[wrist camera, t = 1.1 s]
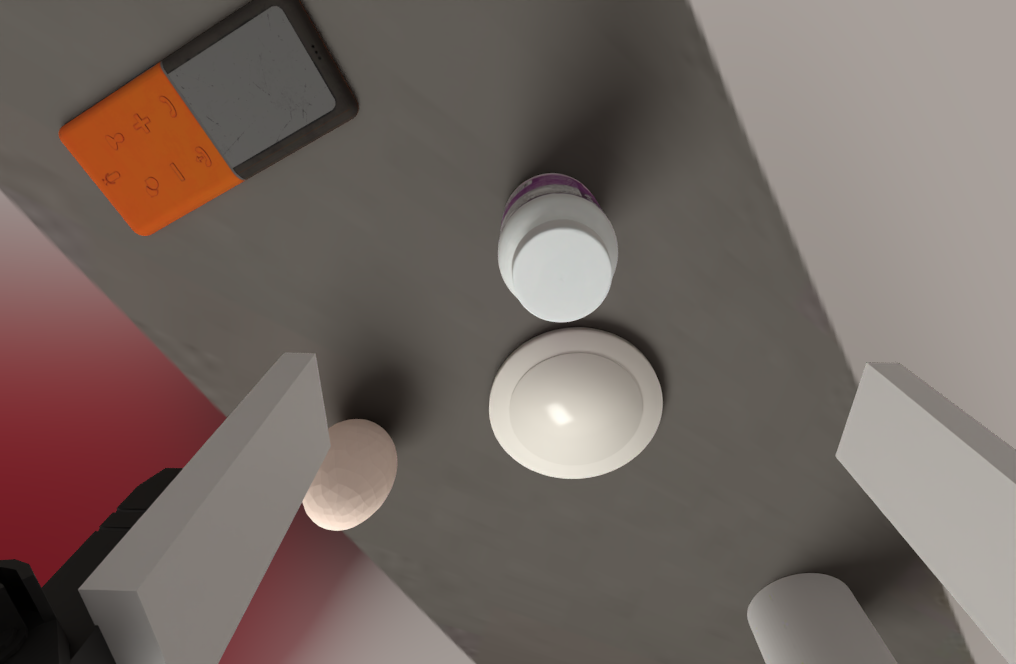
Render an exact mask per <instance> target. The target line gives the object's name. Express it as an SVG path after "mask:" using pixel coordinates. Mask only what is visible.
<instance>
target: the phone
mask: <svg viewBox="0 0 1016 664" xmlns="http://www.w3.org/2000/svg"><path fill="white" fill-rule="evenodd" d="M357 113H358V103H357V101H356V99H355V98H354V96H353V94H352V92H351V90H350V89H349V87H348V85H347V83H346V82H345V80H344V78H343V76H342V75H341V73H340V71H339V69H338V68H337V66H336V64H335V62H334V61H333V59H332V57H331V55H330V54H329V52H328V50H327V48H326V46H325V45H324V43H323V41H322V39H321V38H320V36H319V34H318V32H317V31H316V29H315V27H314V25H313V24H312V22H311V20H310V18H309V17H308V15H307V13H306V11H305V10H304V8H303V6H302V4H301V2H300V1H299V0H253V1H252V2H250V3H248V4H247V5H245V6H244V7H242V8H241V9H239V10H238V11H236V12H235V13H233V14H232V15H230V16H229V17H227V18H226V19H224V20H223V21H221V22H220V23H218V24H217V25H215V26H214V27H212V28H211V29H209V30H208V31H206V32H205V33H203V34H202V35H200V36H199V37H197V38H195V39H194V40H192V41H191V42H189V43H188V44H186V45H185V46H183V47H182V48H180V49H179V50H177V51H176V52H174V53H173V54H171V55H170V56H168V57H167V58H165V59H164V60H162V61H161V62H159V63H158V64H155V65H153V66H152V67H150V68H149V69H147V70H146V71H144V72H143V73H141V74H140V75H138V76H137V77H135V78H134V79H132V80H131V81H129V82H128V83H126V85H124V86H123V87H121V88H120V89H118V90H117V91H115V92H114V93H112V94H111V95H109V96H108V97H106V98H105V99H103V100H102V101H100V102H99V103H97V104H96V105H94V106H93V107H91V108H90V109H88V110H86V111H85V112H83V113H82V114H80V115H79V116H77V117H76V118H74V119H73V120H71V121H70V122H68V123H67V124H65V125H64V126H62V127H61V128H60V130H59V138H60V140H61V141H62V143H63V144H64V145H65V146H66V148H67V149H68V150H69V151H70V153H71V154H72V155H73V156H74V158H75V159H76V160H77V161H78V162H79V164H80V165H81V166H82V167H83V169H84V170H85V171H86V172H87V174H88V175H89V176H90V177H91V179H92V180H93V181H94V182H95V184H96V185H97V186H98V187H99V189H100V190H101V191H102V192H103V194H104V195H105V196H106V197H107V199H108V200H109V201H110V202H111V204H112V205H113V206H114V207H115V208H116V210H117V211H118V212H119V213H120V215H121V216H122V217H123V218H124V220H125V221H126V222H127V223H128V225H129V226H130V227H131V228H132V230H133V231H134V232H135V233H137V234H139V235H142V236H147V235H151V234H153V233H155V232H156V231H158V230H160V229H162V228H163V227H165V226H167V225H168V224H170V223H172V222H174V221H175V220H177V219H179V218H181V217H182V216H184V215H186V214H188V213H189V212H191V211H193V210H195V209H196V208H198V207H200V206H202V205H203V204H205V203H207V202H208V201H210V200H212V199H214V198H215V197H217V196H219V195H221V194H222V193H224V192H226V191H228V190H229V189H231V188H233V187H235V186H236V185H238V184H240V183H242V182H243V181H245V180H247V179H248V178H250V177H252V176H254V175H255V174H257V173H259V172H261V171H262V170H264V169H266V168H268V167H269V166H271V165H273V164H275V163H276V162H278V161H280V160H282V159H283V158H285V157H287V156H288V155H290V154H292V153H294V152H295V151H297V150H299V149H301V148H302V147H304V146H306V145H308V144H309V143H311V142H313V141H315V140H316V139H318V138H320V137H322V136H323V135H325V134H327V133H329V132H330V131H332V130H334V129H335V128H337V127H339V126H341V125H342V124H344V123H346V122H348V121H349V120H351V119H353V118H354V117H355V116H356V115H357Z"/></svg>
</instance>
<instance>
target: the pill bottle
mask: <svg viewBox="0 0 1016 664" xmlns="http://www.w3.org/2000/svg"><path fill="white" fill-rule="evenodd" d="M617 260H618V243H617V238H616V234H615V232H614V228H613V226H612V224H611V222H610V220H609V219H608V217H607V216H606V215H605V213H604V212H603V210H602V209H601V207H600V206H599V204H598V202H597V201H596V199H595V197H594V196H593V195H592V194H591V192H590V191H589V190H588V189H587V188H586V187H585V186H584V185H583V184H582V183H581V182H579V181H578V180H576V179H574V178H572V177H570V176H567V175H563V174H558V173H546V174H541V175H537V176H534V177H532V178H530V179H528V180H526V181H525V182H523V183H522V184H521V185H519V186H518V187H517V188H516V190H515V191H514V192H513V193H512V195H511V196H510V198H509V200H508V202H507V204H506V206H505V209H504V213H503V217H502V224H501V231H500V238H499V243H498V262H499V268H500V271H501V275H502V277H503V280H504V282H505V284H506V285H507V287H508V288H509V290H510V291H511V292H512V293H513V294H514V295H515V296H516V297H517V298H518V299H519V301H520V302H521V304H522V305H523V306H524V307H525V308H526V309H527V310H528V311H529V312H530V313H532V314H533V315H535V316H537V317H539V318H541V319H544V320H547V321H552V322H570V321H575V320H578V319H580V318H583V317H585V316H587V315H588V314H590V313H591V312H593V311H594V310H595V309H596V308H597V307H599V305H600V304H601V303H602V302H603V300H604V299H605V297H606V296H607V294H608V291H609V289H610V286H611V282H612V277H613V275H614V272H615V269H616V265H617Z"/></svg>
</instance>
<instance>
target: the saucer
mask: <svg viewBox="0 0 1016 664" xmlns="http://www.w3.org/2000/svg"><path fill="white" fill-rule="evenodd" d="M662 408H663V398H662V391H661V387H660V383H659V381H658V378H657V376H656V374H655V371H654V369H653V367H652V366H651V364H650V362H649V361H648V359H647V358H646V357H645V356H644V355H643V353H642V352H641V351H640V350H639V349H637V348H636V347H635V346H634V345H633V344H631V343H630V342H628V341H627V340H625V339H624V338H621V337H619V336H617V335H615V334H613V333H610V332H607V331H604V330H599V329H594V328H585V327H570V328H562V329H556V330H553V331H549V332H546V333H543V334H541V335H538V336H536V337H533V338H532V339H530V340H528V341H527V342H525V343H523V344H522V345H521V346H519V347H518V348H517V349H515V350H514V351H513V352H512V353H511V354H510V355H509V356H508V357H507V358H506V360H505V361H504V362H503V364H502V365H501V366H500V368H499V370H498V372H497V373H496V376H495V378H494V381H493V383H492V387H491V392H490V401H489V416H490V422H491V426H492V429H493V431H494V434H495V436H496V438H497V440H498V441H499V443H500V445H501V446H502V447H503V448H504V450H505V451H506V452H507V453H508V454H509V455H510V456H511V457H512V458H513V459H515V460H516V461H517V462H519V463H520V464H521V465H523V466H525V467H527V468H529V469H530V470H533V471H535V472H538V473H540V474H544V475H547V476H551V477H557V478H566V479H579V478H588V477H594V476H598V475H602V474H605V473H608V472H610V471H613V470H615V469H617V468H619V467H621V466H623V465H625V464H626V463H628V462H629V461H631V460H632V459H633V458H635V457H636V456H637V455H638V454H639V453H640V452H641V451H642V450H643V449H644V448H645V447H646V446H647V445H648V443H649V442H650V441H651V439H652V438H653V436H654V434H655V432H656V430H657V428H658V425H659V423H660V419H661V415H662Z"/></svg>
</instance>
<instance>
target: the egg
mask: <svg viewBox="0 0 1016 664" xmlns="http://www.w3.org/2000/svg"><path fill="white" fill-rule="evenodd" d="M328 432H329V438H330V444H331V447H330V449H329V451H328V453H327V455H326V457H325V459H324V461H323V462H322V464H321V466H320V468H319V470H318V472H317V474H316V476H315V478H314V480H313V482H312V484H311V486H310V488H309V489H308V491H307V493H306V495H305V497H304V499H303V501H302V502H303V505H304V508H305V511H306V513H307V515H308V516H309V517H310V518H311V519H312V521H313V522H314V523H316V524H317V525H318V526H320V527H323V528H325V529H329V530H336V531H339V530H346V529H349V528H352V527H355V526H356V525H358V524H360V523H361V522H363V521H365V520H366V519H367V518H369V517H370V516H371V515H372V514H373V513H374V512H375V511H376V510H377V509H378V508H379V507H380V506H381V505H382V504H383V502H384V501H385V499H386V498H387V496H388V494H389V492H390V490H391V488H392V486H393V483H394V480H395V476H396V472H397V453H396V449H395V445H394V443H393V441H392V439H391V437H390V436H389V435H388V433H387V432H386V431H385V430H384V429H383V428H382V427H380V426H379V425H378V424H376V423H374V422H371V421H369V420H366V419H349V420H345V421H342V422H339V423H336V424H335V425H333V426H332V427H330V428H328Z"/></svg>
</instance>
